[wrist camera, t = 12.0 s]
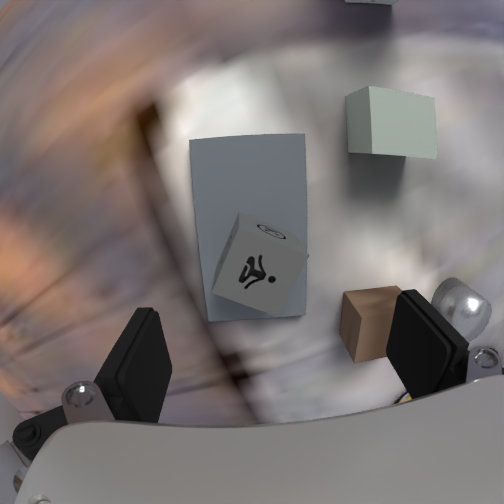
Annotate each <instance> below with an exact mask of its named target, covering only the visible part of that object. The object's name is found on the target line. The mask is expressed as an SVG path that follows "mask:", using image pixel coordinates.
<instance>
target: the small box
mask: <svg viewBox="0 0 504 504" xmlns="http://www.w3.org/2000/svg"><path fill="white" fill-rule="evenodd" d="M397 1H398V0H345V2H351V3H376V4H388V5H394V4H395V3H396V2H397Z"/></svg>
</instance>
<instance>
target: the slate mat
mask: <svg viewBox="0 0 504 504" xmlns="http://www.w3.org/2000/svg"><path fill="white" fill-rule="evenodd" d="M189 145H190V160H191V172H192V184H193V196H194V206H195V216H196V226H197V235H198V244H199V253H200V261H201V269H202V277H203V285H204V292H205V299H206V306H207V313H208V320H209V322H211V321H231V320H248V319H263V318H276V317H288V316H299V315H306V287H307V261H306V263H305V265H304V267H303V269H302V271H301V272H300V274H299V276H298V278H297V280H296V282H295V284H294V286H293V288H292V290H291V292H290V293H289V295H288V297H287V299H286V301H285V303H284V305H283V306H282V308H281V310H280V312H279V314H278V316H275V315H272V314H269V313H266V312H264V311H261V310H258V309H255V308H252V307H249V306H246V305H244V304H241V303H238V302H235V301H232V300H230V299H227V298H224V297H221V296H219V295H216V294H213V293H212V287H213V282H214V276H215V271H216V266H217V263H218V261H219V259H220V256H221V254H222V251H223V249H224V247H225V244H226V242H227V239H228V237H229V235H230V232H231V230H232V228H233V225H234V223H235V221H236V218H237V216H238V214H239V212H242V213H244V214H247V215H249V216H252V217H254V218H256V219H259V220H261V221H264V222H266V223H268V224H271V225H273V226H276V227H278V228H280V229H283V230H285V231H287V232H290V233H292V234H294V235H296V236H297V238H298V239H299V241H300V242H301V244H302V245H303V247H304V249H305V250H306V252H307V179H306V149H305V134H262V135H242V136H227V137H214V138H204V139H194V140H189Z"/></svg>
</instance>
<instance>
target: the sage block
mask: <svg viewBox="0 0 504 504" xmlns="http://www.w3.org/2000/svg"><path fill="white" fill-rule="evenodd" d="M345 99H346V115H347V136H348V153H369V154H386V155H399V156H410V157H421V158H430V159H437V135H436V115H435V101H434V98H432V97H428V96H423V95H419V94H414V93H409V92H404V91H399V90H393V89H387V88H381V87H374V86H367V87H365V88H362V89H360V90H358V91H356V92H354V93H352V94H350V95H347V96H345Z"/></svg>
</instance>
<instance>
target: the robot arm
mask: <svg viewBox="0 0 504 504" xmlns="http://www.w3.org/2000/svg"><path fill="white" fill-rule="evenodd" d="M468 346H469V343H468V342H467V341H466V340H465V339H464V337H463V336H462V335H461V334H460V333H459V332H458V331H457V330H456V329H455V328H454V327H453V326H452V325H451V324H450V323H449V322H448V321H447V320H446V319H445V318H444V317H443V316H442V315H441V314H440V313H439V312H438V311H437V310H436V309H435V308H434V307H433V306H432V305H431V304H430V303H429V302H428V301H427V300H426V299H425V298H424V297H423V296H422V295H421V294H420V293H419V292H418V291H417V290H415V289H412V290H405V291H402V292H401V293H400V295H398V296H397V299H396V304H395V310H394V315H393V320H392V324H391V329H390V334H389V338H388V342H387V346H386V355H387V357H388V359H389V360H390V362H391V364H392V365H393V367H394V369H395V371H396V372H397V374H398V376H399V377H400V379H401V381H402V383H403V384H404V386H405V388H406V390H407V391H408V393H409V395H410V397H411V399H412V400H408V401H405V402H401V403H397V404H393V405H389V406H385V407H380V408H376V409H371V410H367V411H362V412H357V413H351V414H346V415H340V416H334V417H327V418H321V419H313V420H305V421H296V422H286V423H274V424H258V425H231V426H208V425H177V424H161V423H158V420H159V416H160V413H161V409H162V405H163V402H164V398H165V395H166V391H167V388H168V384H169V381H170V378H171V374H172V364H171V360H170V357H169V353H168V349H167V345H166V341H165V338H164V334H163V330H162V326H161V321H160V317H159V313H158V312H157V311H154V309H153V308H137V309H136V311H135V313H134V314H133V316H132V317H131V319H130V321H129V322H128V324H127V326H126V327H125V329H124V331H123V332H122V334H121V335H120V337H119V339H118V340H117V342H116V343H115V345H114V347H113V348H112V350H111V352H110V354H109V355H108V357H107V359H106V360H105V362H104V364H103V366H102V367H101V369H100V371H99V373H98V374H97V376H96V378H95V380H94V382H91V381H79V382H75V383H73V384H71V385H70V386H68V387H67V388H66V389H65V391H64V392H63V394H62V397H61V401H62V405H61V406H59V407H57V408H54V409H52V410H50V411H47V412H45V413H42V414H40V415H38V416H35V417H33V418H30V419H28V420H25V421H24V422H22V423H20V424H19V425H18V426H17V427H16V428H15V430H14V433H13V441H12V442H11V443H10V442H9V441H8V440H7V441H5V442H4V443H3V444H1V445H0V504H504V368H502V362H501V358H500V357H499V355H498V354H497V353H496V352H495V351H493V350H492V349H489V348H486V347H476V348H474V349H472V350H471V351H470V352H469V351H468V350H467V349H468Z"/></svg>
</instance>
